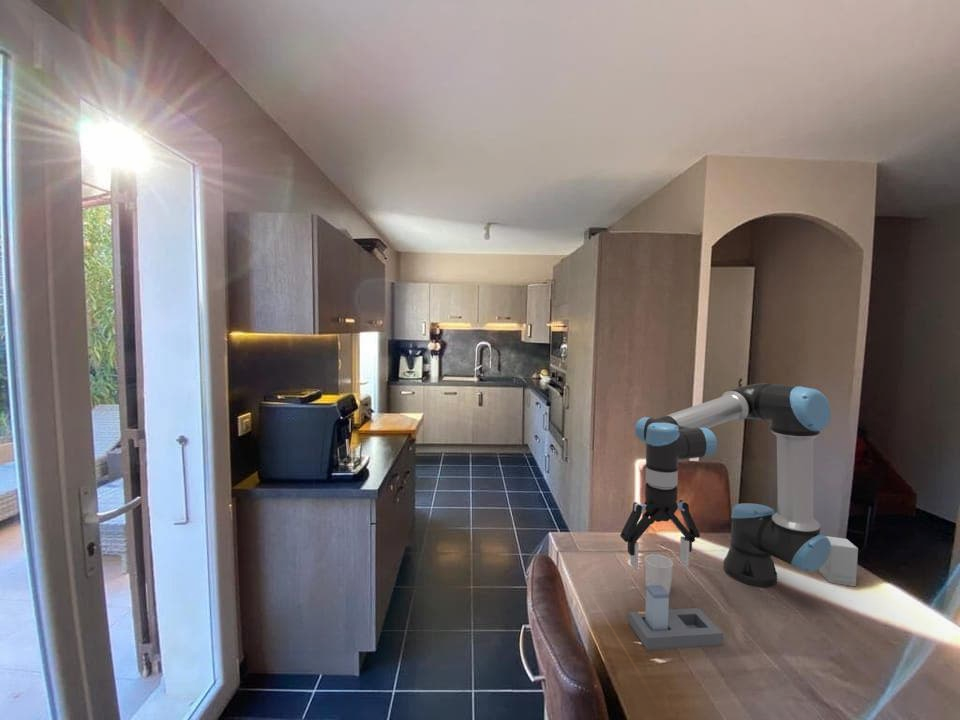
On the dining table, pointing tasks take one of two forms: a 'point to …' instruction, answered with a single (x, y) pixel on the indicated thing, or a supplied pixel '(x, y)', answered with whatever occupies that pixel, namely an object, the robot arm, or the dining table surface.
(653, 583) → the white cup
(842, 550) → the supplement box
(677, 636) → the panel
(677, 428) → the robot arm
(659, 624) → the plug
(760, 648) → the dining table surface
